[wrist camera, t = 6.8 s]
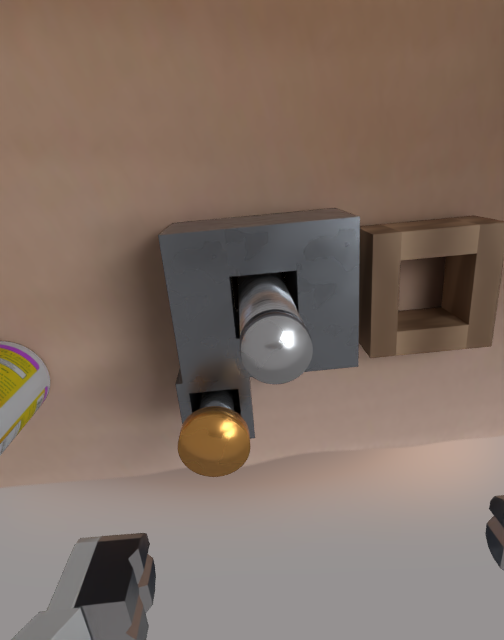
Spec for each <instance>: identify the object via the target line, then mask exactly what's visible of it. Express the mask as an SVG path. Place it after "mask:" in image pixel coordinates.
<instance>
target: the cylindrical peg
mask: <svg viewBox="0 0 504 640" xmlns="http://www.w3.org/2000/svg"><path fill="white" fill-rule="evenodd" d="M238 299H239V321H240V341H239V342H240V356H241V359H242V362H243V365H244V367H245V369H246V370H247V371H248V373H249V374H250V375H251V376H253V377H254V378H255V379H257V380H259V381H261V382H264V383H268V384H283V383H287V382H290V381H292V380H294V379H296V378H297V377H299V376H300V375H301V374H302V373H303V372H304V371H305V370H306V369H307V367H308V366H309V364H310V362H311V359H312V354H313V347H312V340H311V337H310V334H309V332H308V330H307V328H306V326H305V324H304V323H303V321H302V319H301V317H300V315H299V313H298V311H297V309H296V306H295V304H294V302H293V300H292V298H291V296H290V294H289V291H288V289H287V287H286V285H285V283H284V281H283V278H282V276H281V274H280V272H274V273H264V274H253V275H242V276H238Z"/></svg>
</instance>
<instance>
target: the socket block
mask: <svg viewBox="0 0 504 640" xmlns="http://www.w3.org/2000/svg"><path fill="white" fill-rule="evenodd" d="M158 237H159V243H160V249H161V255H162V261H163V267H164V273H165V279H166V285H167V291H168V297H169V303H170V309H171V315H172V321H173V327H174V333H175V339H176V345H177V351H178V357H179V363H180V370H179V374H178V377H177V381H176V389H177V395H178V401H179V407H180V412H181V418H182V424H183V423H184V421H185V420H186V419H187V417H188V416H189V415H190V414H192V413H193V412H195V411H197V410H199V409H200V403H201V396H202V392H208V391H218V390H229V389H233V393H234V411H235V412H237V413H238V414H239V415H240V416H241V417H242V418H243V419H244V420H245V422H246V423H247V426H248V428H249V436H250V438H255V432H254V420H253V408H252V397H251V386H250V377H253V376H251V375H250V374H249V373H248V371H247V370H246V369H245V367H244V365H243V362H242V359H241V356H240V342H239V341H240V321H239V309H235V301H234V292H233V282H232V276H242V275H253V274H264V273H274V272H285V271H286V281H287V289H288V291H289V294H290V296H291V298H292V300H293V302H294V304H295V306H296V309H297V311H298V313H299V315H300V317H301V319H302V321H303V323H304V324H305V326H306V328H307V330H308V332H309V334H310V337H311V340H312V347H313V354H312V359H311V362H310V364H309V366H308V367H307V369H306V370H305V371H304V372H307V371H317V370H327V369H338V368H348V367H358V344H359V253H360V216H357V215H354V214H351V213H348V212H346V211H343V210H340V209H337V208H329V209H318V210H308V211H297V212H286V213H275V214H264V215H253V216H243V217H232V218H221V219H210V220H199V221H188V222H178V223H172V224H171V225H170V226H168V227H167V228H166V229H165V230H164V231H163V232H161V233H160V234H159V235H158Z"/></svg>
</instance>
